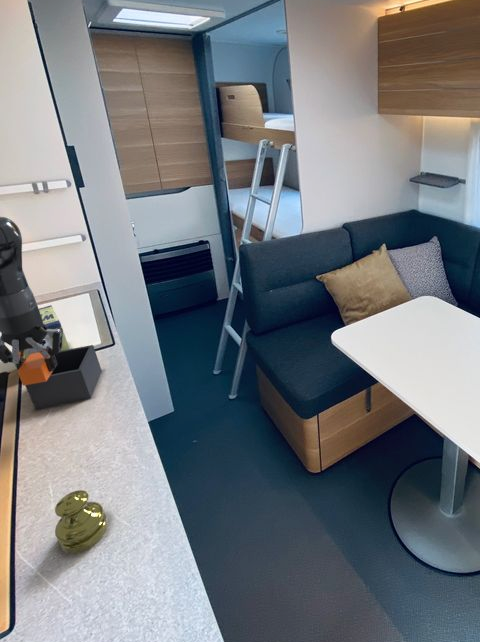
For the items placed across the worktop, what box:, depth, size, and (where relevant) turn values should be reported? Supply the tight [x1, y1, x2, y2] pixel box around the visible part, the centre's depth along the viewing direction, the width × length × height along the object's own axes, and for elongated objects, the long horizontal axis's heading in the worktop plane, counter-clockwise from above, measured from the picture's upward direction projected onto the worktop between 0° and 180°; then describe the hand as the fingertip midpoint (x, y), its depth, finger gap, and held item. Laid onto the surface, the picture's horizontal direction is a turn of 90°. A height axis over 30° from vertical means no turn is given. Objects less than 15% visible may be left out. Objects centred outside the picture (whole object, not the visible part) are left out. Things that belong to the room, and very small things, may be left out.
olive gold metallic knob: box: [54, 489, 109, 555], centre depth 75 cm, size 7×7×10 cm
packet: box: [16, 353, 53, 387], centre depth 96 cm, size 7×4×4 cm, turn 18°
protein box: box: [24, 304, 71, 359], centre depth 125 cm, size 10×16×16 cm
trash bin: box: [24, 344, 103, 411], centre depth 113 cm, size 13×13×10 cm
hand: (39, 371), depth 96 cm, fingers closed on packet, 4 cm apart
